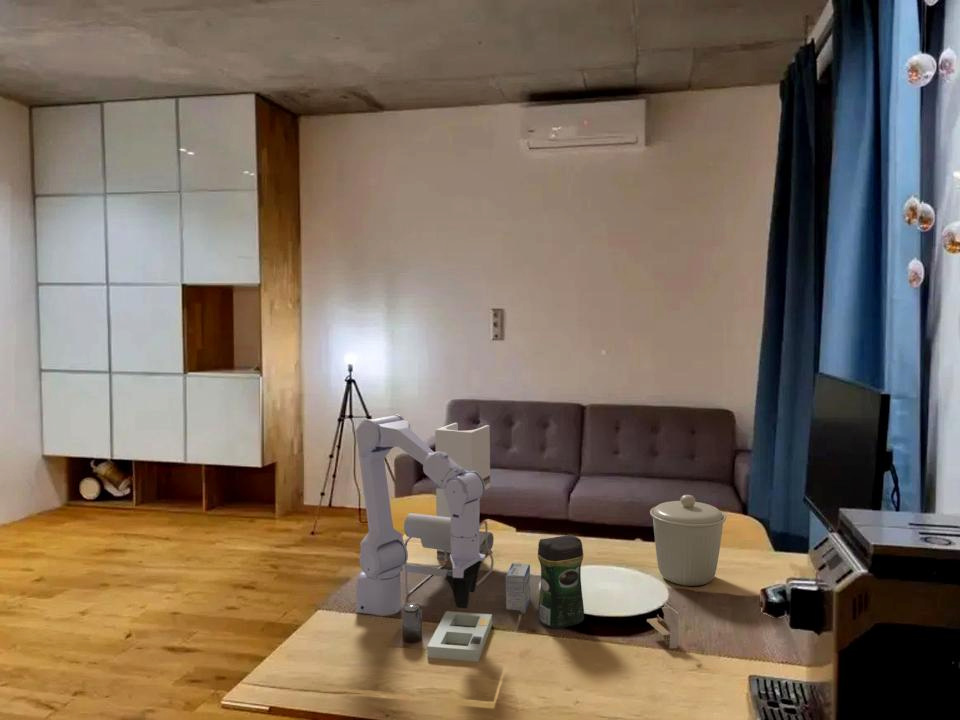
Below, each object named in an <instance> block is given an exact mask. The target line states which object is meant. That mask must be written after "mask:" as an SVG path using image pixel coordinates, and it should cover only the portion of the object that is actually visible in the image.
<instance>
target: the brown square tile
mask: <svg viewBox="0 0 960 720" xmlns="http://www.w3.org/2000/svg"><path fill="white" fill-rule="evenodd" d="M435 631H436V630H426V629H424V630H423V629H422V640H421V641H419V642H417V643H406V642H404V641H403V640H402V627H401V628H398V629H397V630H396V632H395V634H394V635H393V637H392V639H391V640H390V642H389V643H388V645H387V647H390V648H399V649H400V648H402V649H414V650H416V649H417V650H424V651H425V650H426V651H427V646H428V644H429V642H430V640H431V638H432V637H433V635H434V633H435Z"/></svg>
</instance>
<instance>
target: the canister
mask: <svg viewBox="0 0 960 720" xmlns="http://www.w3.org/2000/svg"><path fill="white" fill-rule="evenodd" d="M649 514H650V516H651V517H652V523H653V525H652V526H653V533H654V535H653V536H654V544H655V553H656V559H657V560H656V561H657V568H658V570H659V574H660V576H662V578H664V579H665V580H666V581H668V582H671V583H674V584H676V585H681V586H688V587H694V586H695V587H696V586H702V585H703V586H704V585H706V584H708V583H710V582H712V581H713V579H714V578H715V575H716V573H717V568H718V562H719V558H720V557H719V555H720V550H721V543H722V534H723V529H724V528H723V527H724V523H725V522H726V520H727V515H726V514H725V512H724V511H722V510H720V509H718V508H717V507H715V506H713V505H711V504H708V503H705V502H698V501H696V498H695V497H694V496H693V495H690V494H684V495H682V496H681V497H680V500H673V501H665V502H662V503H659V504H658V505H656V506H654V507H652V508H650V511H649Z"/></svg>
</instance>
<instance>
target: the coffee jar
mask: <svg viewBox="0 0 960 720" xmlns="http://www.w3.org/2000/svg"><path fill="white" fill-rule="evenodd" d="M537 559H538V562H539V564H540V584H539V587H540V588H539V596H538V597H539V598H538V606H537V607H538V609H537V610H538V611H537V616H538V617H537V618H538V619H539V621H540V623H542V624H543V625H544V626H546V627H549V628H553V629H560V628H561V629H562V628H567V627H571V626H575V625H579V624H581V623H582V622H583V621H584V619H585V607H584V601H583V600H584V598H583V590H582V577H581V573H582V572H581V570H582V569H581V568H582V563H583V560H584V549H583V542H582V541H581V539H580V538H579V537H577V536H576V535H573V534H571V533H570V534H568V535H562V536H553V537H547V538H541V539H539V541H538V548H537Z"/></svg>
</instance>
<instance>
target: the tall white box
mask: <svg viewBox="0 0 960 720" xmlns="http://www.w3.org/2000/svg"><path fill="white" fill-rule="evenodd" d="M490 430H491V429H490V425H489V424H486V425H483V426H482V427H478V428H476V429H470V430H469V429H468V430H459V423H458V422H453V423H451V424H448V425H445V426H442V427H438V428H435V430H434V432H435V433H434V436H435V440H434V441H435V443H434V444H435V452H438V451H441V452H446V453H447V454H448V455H449V456H448V457H449V458H450V459H452V460H453V461H454V462H455V463H457V464H458V465H459V466H461V467H463V468H464V470H467V471H476V472H477V473H478V474H479V475H480V476H481V477H482V479H483V481H484V484H485V491H487V490H488V489H489V488H491V441H490V440H491V438H490V436H491V435H490V434H491V433H490V432H491V431H490ZM435 497H436V499H435V502H436V503H435V504H436V505H435V506H436V512H435V513H436V514H435V515H439V516H443V517H451V513H450V511H449V510H448V502H447V500H446V498H445V495H444V490H443V489H442V488H441V487H440V486H438V485H437V484H436V483H435ZM478 500H479V501H480V499H478ZM446 552H447V561H451V560H450V554H451V551H446ZM479 553H480V554H485V555H486V554H489V553H488V551H485V550H479ZM436 559H440V560H445V552H444V550H438V549H436Z"/></svg>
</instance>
